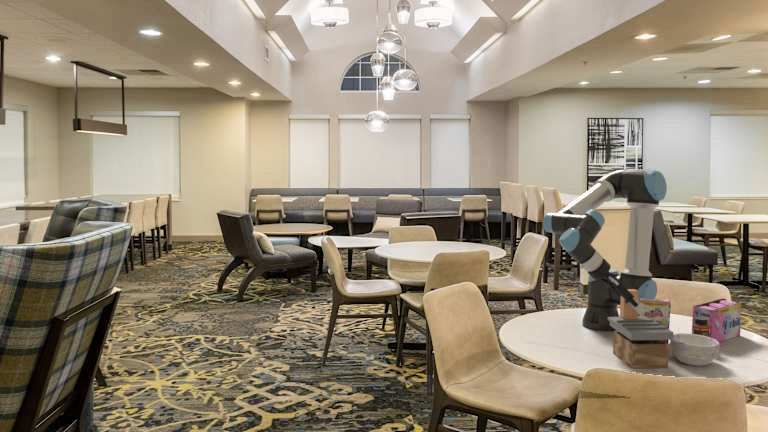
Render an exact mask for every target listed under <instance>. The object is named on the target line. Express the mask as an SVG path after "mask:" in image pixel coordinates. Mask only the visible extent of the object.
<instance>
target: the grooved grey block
mask: <svg viewBox="0 0 768 432" xmlns="http://www.w3.org/2000/svg"><path fill="white" fill-rule="evenodd" d="M627 290H628V291H629V292H630V293H631V294H632V295H633V296H634V298H635V299H636V300H637V301H638V291H637V290H635V289H627ZM625 302H626V300H625V299H624V298H623V297H622V296H621V301H620V304H619V306H620V307H619V317H608V320H609V321H610V326H611V327H613V328H614V329H616V330H615V331H619V332H620V333H621V334H623V335H624V336H626V337H627V338H629V339H630V340H668V341H670V340H673V335H674V331H672V330H671V329H670V328H669V329H667V327H663V326H662V325H660V323H657V322H655V321H654V320H651V319H650V318H648V317H646V316H638V317H637V315H638V313H637V312H636V311H635V310H634V309H633V308H632V307H631V306H630V305H629V304H628V303H625Z"/></svg>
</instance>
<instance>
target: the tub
mask: <svg viewBox="0 0 768 432" xmlns="http://www.w3.org/2000/svg"><path fill="white" fill-rule="evenodd" d="M612 345H613V346H612V354H613V355H615V356H616V357H617V358H619V359H620V360H621V361H623V363H625V364H627V365H628V366H629V367H630V368H632V369H666V368H667V369H668V367H669V354H670V353H669V351H670V343H669V342H668V343H666V342H665V341H663V340H630V339H629V338H627V337H626V336H624V335H623V334H621V333H620V332H619V331H617V330H613V342H612Z"/></svg>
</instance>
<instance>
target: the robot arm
mask: <svg viewBox="0 0 768 432" xmlns="http://www.w3.org/2000/svg"><path fill="white" fill-rule="evenodd" d="M667 188H668V187H667V180H666V178H665V176H664V175H663V173H662V172H661V171H660V170H656V169H655V170H654V169H627V168H626V169H624V168H623V169H619V170H615V171H612V172H609V173H608V174H606V175H604V176H601V177H600V178H599V179H597V180H596V181H595V182H594V183H593V185H592V187H590V189H587V191H585V192H584V193H583V194H581V195H580V196H578V197H577V198H575V199H574V200H573V201H571V202H570V203H568V204H567V205H566V206H564V207H563V208H561V210H559V211H558V212H547V213H546V214H545V215H544V216H543V219H542V227H543V229H544V231H545V232H546V233H552V234H557V235H558V234H559V235H561V236H559V237H560V238H559V239H558V242H559V245H560V246H561V247H562V248H563V249H564V250H565V252H566V253H568V255H570V256H571V258H572V259H573V260H574V261H575V262H577V263H578V264H579V265H580V267H579V268H580V269H582V270H584V271H585V272H587V274H588V279H587V306H586V309H585V312H584V314H583V317H582V322H581V323H582V324H581V325H582V326H583V327H585V328H587V329H591V330H597V331H617V330H616V329H614V328H613V327H611V326H610V321H609V320H608V317H620V312H619V310H618V305H620V301H621V296H622V297H623V298H624V299H625V300H626V302H625V303H628V304H629V305H630V306H631V307H632V308H633V309H634V310H635V311H636V312H637V315H638V314H639V315H640V314H641V313H642V312H643V311H644V310H645V309H644V308H643V307H642V306H641V305H640V304H639V303H638V301H637V300H636V299H635V298H634V296H633V295H632V294H631V293H630V292H629V291H628V290H627V289H635V290H637V291H638V298H647V299H656V297H657V294H658V284H657V282H656V280H654V279H653V274H652V273H651V272H650V271H649V268H650V257H651V256H650V254H651V247H652V238H653V237H652V235H653V224H654V216H655V215H654V212H655V209H656V208H657V207H658V206H659V205H660V201H663V200H664V199H665V198H666V195H667ZM615 199H626V204H627V205H628V206H629V208H630V210H629V211H630V212H629V220H628V221H629V222H628V231H627V232H628V233H627V245H626V255H625V264H624V265H625V266H624V268H623V269H621V270H620V272H619V271H618V270H617V269H611V267H612V266H611V264H610V263H609V262H608V261H607V260H606V259H605V258H603V255H601V254H600V252H599V251H597V249H595V248H594V246H593V245H592V243H593V242H594V240H596V237H597V236H598V234H599V233H600V232H601V230H602V228H603V227H604V225H605V221H606V219H605V217H604V215H603V214H602V213H601V212H599V211H598V210H596V209H597V208H599V207H600V206H601V205H603V204H604V203H608V202H611V201H612V200H615Z"/></svg>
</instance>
